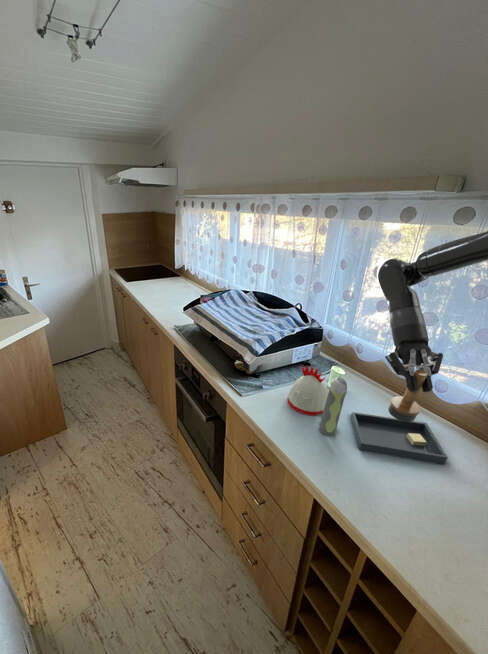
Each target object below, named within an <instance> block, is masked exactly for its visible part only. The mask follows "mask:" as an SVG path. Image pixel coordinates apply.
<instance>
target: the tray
mask: <svg viewBox="0 0 488 654" xmlns="http://www.w3.org/2000/svg"><path fill="white" fill-rule="evenodd" d="M349 420H350V423H351V426H352V427H351V428H352V430H353V434H354V436H355V440H356V444H357V447H358V450H359V451H363V452H369V453H375V454H381V455H387V456H392V457H397V458H398V457H399V458H403V459H404V458H405V459H410V460H416V461H420V462H427V463H433V464H439V465H445V463H446V462H447V460H448V456H447V453H445V451H444V449H443V448H442V446H441V445H440V443H439V441H438V439H437V438H436V436H435V435H434V433H433V431H432V429H431V428H430V426H429V425H428V423H427V422H422V421H415V420H414V421H411V422H405V421H401V420H398V419H396V418H394V417H389V416H382V415H375V414H368V413H361V412H354V411H351V413H350V417H349ZM408 433H413V434H420V435H421V436H422V437H423V438H424V440H425V441H426V444H425V446H421V445H412V444H411V442H410V441H409V440H408V438H407V434H408Z"/></svg>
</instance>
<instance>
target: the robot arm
mask: <svg viewBox="0 0 488 654" xmlns="http://www.w3.org/2000/svg"><path fill="white" fill-rule="evenodd" d="M487 261H488V230H486V231H484V232H479V233H476V234H473V235H469V236H465V237H461V238H458V239H454V240H451V241H448V242H445V243H443V244H439V245H437V246H434V247H430V248H429V249H425V250H423V251H422V252H420V253H418V254H417V255H416V257H415V260H414V261H411V262H407V261H405V260H403V259H399V258H395V257H393V258H392V257H391V258H388V259H385V260H384V261H382V262H381V264H379V267H377V268H378V269H377V272H376V279H377V282H378V285H379V287H380V290H381V292H382V294H383V297H385V300H386V302H387V308H388V314H389V326H390V331H391V335H392V342H393V345H394V347H395V348H394V351H392V352H389V353H388V354H386V355H385V357H384V358H385V359H386V361H387V363H388V364H389V365H390V367H391V368H392V369H393V371H394V372H395V374H396V375H397V376H402V377H404V378H405V382H406V389H407V388H408V390H410V392H416V391H418V386H417V381H416V376H414V375H415V371H416V370H422V371H425V372H426V373H427V377H426V379H425V381H424V383H423V385H422V387H421V389H422V392H423V393H430V392H432V390H433V388H434V386H433V382H432V381H433V380H432V376H434V375H437V374H439V372H440V369H441V365H442V363H443V358H444V353H442V352H438V353H437V352H434V351H432V348H431V347H430V346H429V341H430V340H429V334H428V330H427V326H426V321H425V317H424V313H423V311H422V308H421V303H420V299H419V295H418V293H417V291H416V290H414V289H413V288H412V287H414V286H416V285H418V284H420V283H422V282H424V281H426V280H428V279H430V278H431V277H435V276H439V275H443V274H446V273H450V272H455V271H456V270H461V269H463V268H467V267H470V266H473V265H476V264H479V263H483V262H487ZM415 369H416V370H415Z"/></svg>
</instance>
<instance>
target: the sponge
mask: <svg viewBox="0 0 488 654" xmlns="http://www.w3.org/2000/svg"><path fill="white" fill-rule="evenodd" d="M243 366H244V365H243V362H241V361H238V360H237V359H236V361H235V362H234V367H236V369H237V370H239V371H241V372H245V374H248V375H250V374H251V375H252V373H253V372H249V371H248V370H246V369H245V368H244V367H243Z"/></svg>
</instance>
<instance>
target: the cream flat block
mask: <svg viewBox="0 0 488 654" xmlns="http://www.w3.org/2000/svg"><path fill="white" fill-rule="evenodd" d="M407 438H408V440H409V441H410V442H411V444H412V445H421V446H425V444H426V441H425V440H424V438H423V437H422V436H421V435H420V434H413V433H408V434H407Z"/></svg>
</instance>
